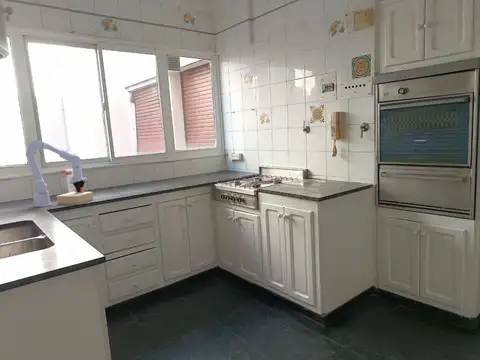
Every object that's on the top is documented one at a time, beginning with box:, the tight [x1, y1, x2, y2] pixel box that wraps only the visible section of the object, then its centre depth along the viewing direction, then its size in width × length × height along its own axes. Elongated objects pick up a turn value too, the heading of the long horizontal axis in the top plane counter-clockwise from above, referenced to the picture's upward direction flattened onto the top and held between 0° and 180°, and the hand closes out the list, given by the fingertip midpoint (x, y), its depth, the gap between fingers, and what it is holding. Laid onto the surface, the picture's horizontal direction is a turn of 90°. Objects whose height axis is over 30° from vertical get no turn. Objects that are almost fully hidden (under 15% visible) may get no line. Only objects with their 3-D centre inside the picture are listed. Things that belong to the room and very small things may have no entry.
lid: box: [56, 186, 93, 198], centre depth 231 cm, size 18×14×4 cm
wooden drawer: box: [56, 193, 94, 205], centre depth 231 cm, size 17×14×5 cm
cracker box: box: [59, 167, 76, 194], centre depth 256 cm, size 14×6×21 cm, turn 168°
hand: (80, 191), depth 236 cm, fingers closed on lid
